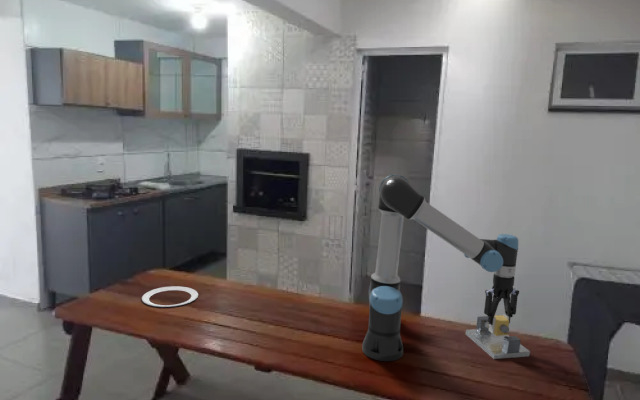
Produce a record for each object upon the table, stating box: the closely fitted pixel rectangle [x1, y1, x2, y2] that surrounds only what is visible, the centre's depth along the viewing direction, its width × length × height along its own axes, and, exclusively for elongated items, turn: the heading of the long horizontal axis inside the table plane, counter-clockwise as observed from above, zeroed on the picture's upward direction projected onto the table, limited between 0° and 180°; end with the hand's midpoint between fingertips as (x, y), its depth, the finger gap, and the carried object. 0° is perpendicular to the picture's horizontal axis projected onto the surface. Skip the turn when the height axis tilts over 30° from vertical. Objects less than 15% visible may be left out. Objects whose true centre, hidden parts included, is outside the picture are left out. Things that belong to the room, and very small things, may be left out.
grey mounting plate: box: [465, 315, 531, 360], centre depth 178 cm, size 21×15×7 cm
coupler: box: [494, 314, 510, 336], centre depth 177 cm, size 9×5×6 cm, turn 12°
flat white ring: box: [141, 285, 199, 308], centre depth 211 cm, size 25×25×1 cm
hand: (497, 331), depth 178 cm, fingers closed on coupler, 5 cm apart
